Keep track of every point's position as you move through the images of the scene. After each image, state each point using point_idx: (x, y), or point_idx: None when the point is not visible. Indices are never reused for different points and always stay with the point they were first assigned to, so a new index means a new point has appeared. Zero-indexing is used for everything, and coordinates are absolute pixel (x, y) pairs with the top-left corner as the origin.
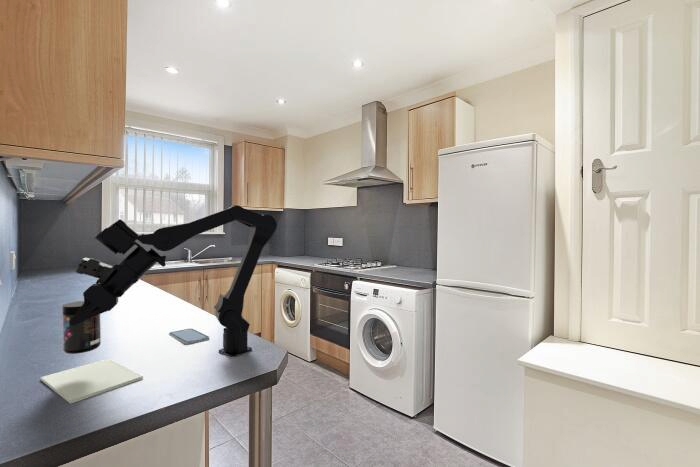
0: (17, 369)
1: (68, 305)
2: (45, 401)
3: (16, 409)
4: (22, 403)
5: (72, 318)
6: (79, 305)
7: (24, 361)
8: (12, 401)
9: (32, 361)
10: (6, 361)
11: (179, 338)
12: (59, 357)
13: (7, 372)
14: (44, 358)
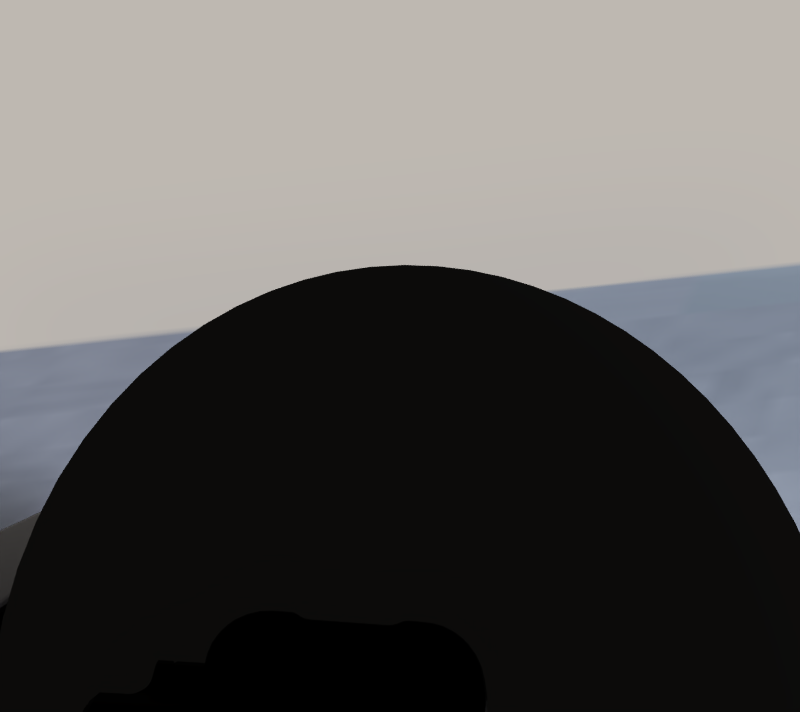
0: (650, 321)
1: (367, 362)
2: (4, 507)
3: (3, 388)
4: (76, 403)
5: (32, 521)
6: (168, 594)
7: (768, 334)
8: (150, 358)
9: (756, 367)
10: (793, 268)
11: None
12: (785, 487)
13: (622, 289)
14: (790, 414)
